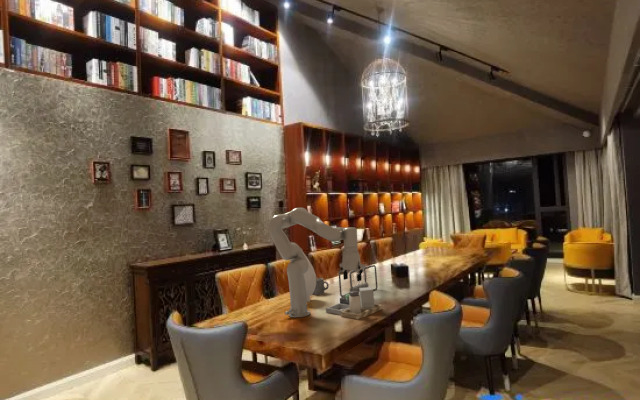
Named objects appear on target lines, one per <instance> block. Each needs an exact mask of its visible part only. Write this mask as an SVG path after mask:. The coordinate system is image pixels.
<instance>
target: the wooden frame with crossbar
mask: <svg viewBox="0 0 640 400" xmlns="http://www.w3.org/2000/svg"><path fill="white" fill-rule="evenodd" d="M374 306H375V307H374V308H371V309H365V308H361V313H359V314H354V313H350V309H347V310H344V311H342V312H341V315H340V317H341V318H349V319H353V320H361V319H362V318H365V317H367V316H370V315H372V314H374V313H376V312H379V311H381V310H383V305H382V304H378V303H374Z"/></svg>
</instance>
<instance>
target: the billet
mask: <svg viewBox="0 0 640 400" xmlns="http://www.w3.org/2000/svg"><path fill="white" fill-rule="evenodd" d="M349 293H350V295H349V302H350V313H354V314H359V313H361V305H360V295H359V294H360V293H359V291H350V290H349Z"/></svg>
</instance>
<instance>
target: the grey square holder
mask: <svg viewBox="0 0 640 400" xmlns="http://www.w3.org/2000/svg"><path fill="white" fill-rule="evenodd" d="M339 303H340V304H346V305H350V302H349V299H346V296H345V297H339Z"/></svg>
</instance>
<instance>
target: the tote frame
mask: <svg viewBox="0 0 640 400" xmlns="http://www.w3.org/2000/svg"><path fill="white" fill-rule="evenodd" d="M347 309H350V305H346V304H340V302H339V303H337V304H333V305H331V306H328V307H326V308H325V313H327V314H333V315H338V316H341V312H342V311H344V310H347Z"/></svg>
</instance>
